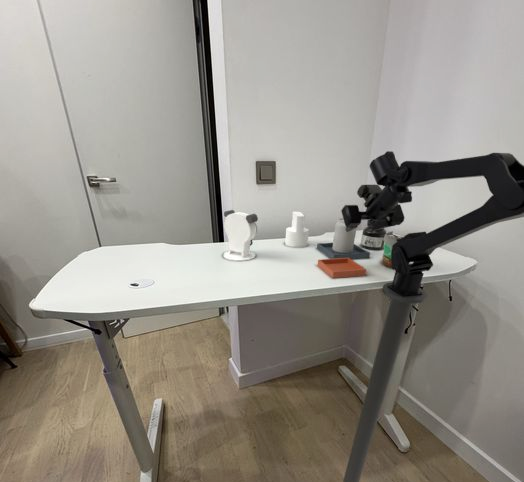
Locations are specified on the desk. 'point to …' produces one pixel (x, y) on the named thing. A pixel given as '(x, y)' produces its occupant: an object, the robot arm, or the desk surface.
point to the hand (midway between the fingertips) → (359, 230)
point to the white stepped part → (297, 231)
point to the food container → (389, 248)
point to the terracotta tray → (341, 267)
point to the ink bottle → (373, 237)
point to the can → (343, 238)
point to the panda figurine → (240, 235)
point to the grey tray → (355, 254)
